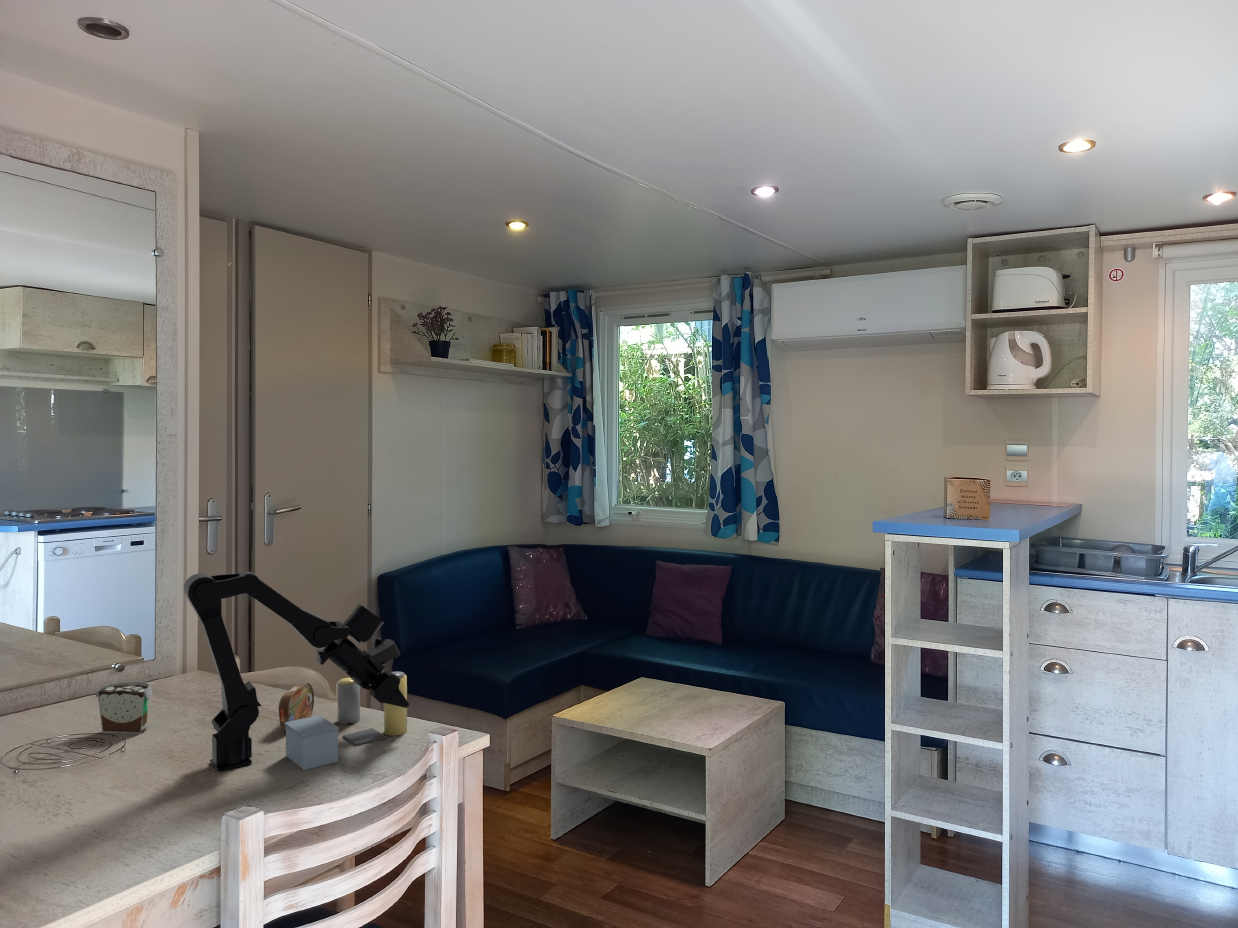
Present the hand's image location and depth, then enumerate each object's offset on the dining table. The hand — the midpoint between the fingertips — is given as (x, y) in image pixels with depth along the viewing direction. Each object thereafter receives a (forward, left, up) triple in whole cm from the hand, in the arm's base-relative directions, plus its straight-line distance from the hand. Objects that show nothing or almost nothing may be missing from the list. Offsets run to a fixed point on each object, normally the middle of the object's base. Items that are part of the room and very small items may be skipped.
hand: (400, 700), depth 193 cm
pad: (-8, +1, -7) cm, 11 cm away
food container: (-46, +41, -7) cm, 62 cm away
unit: (-22, -4, -7) cm, 23 cm away
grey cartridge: (-6, +14, -7) cm, 17 cm away
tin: (-16, +20, -7) cm, 27 cm away
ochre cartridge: (-1, 0, -7) cm, 7 cm away
